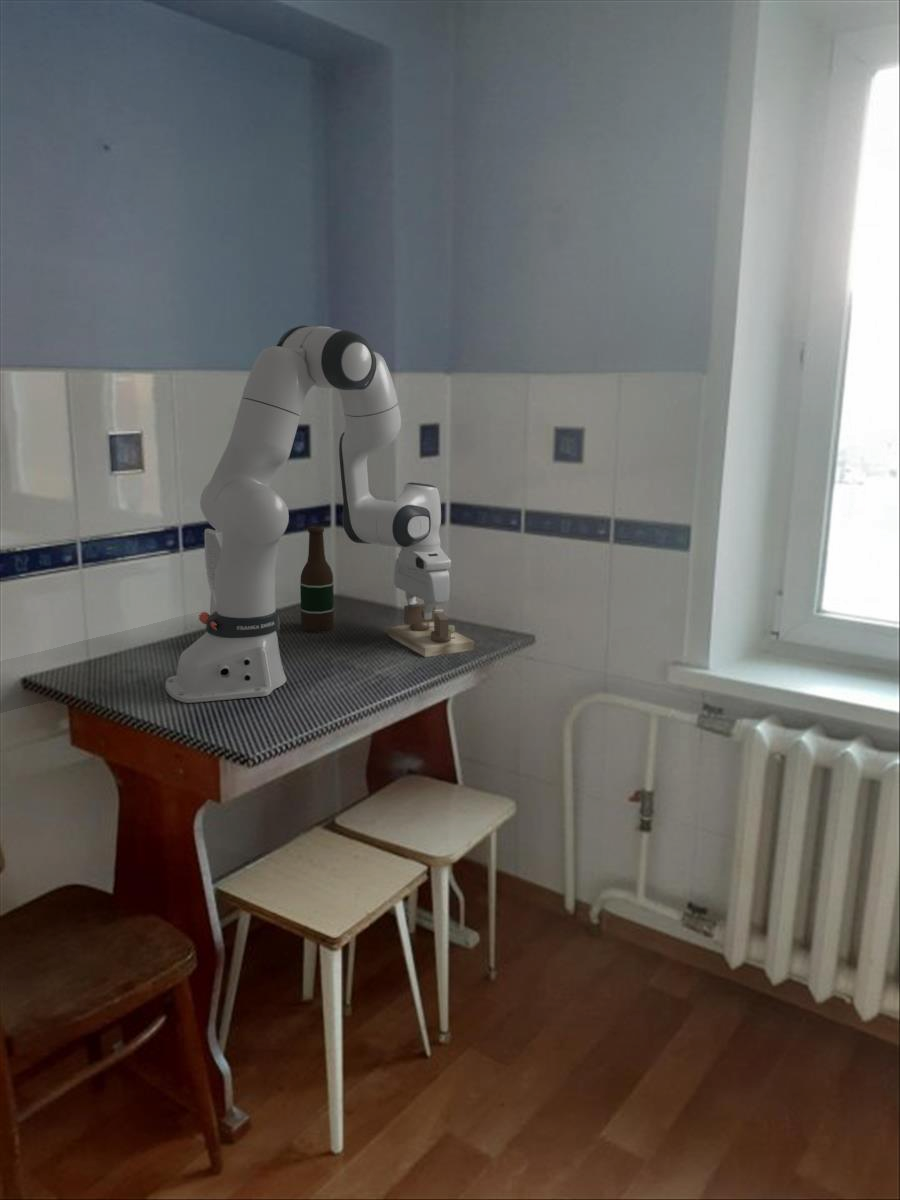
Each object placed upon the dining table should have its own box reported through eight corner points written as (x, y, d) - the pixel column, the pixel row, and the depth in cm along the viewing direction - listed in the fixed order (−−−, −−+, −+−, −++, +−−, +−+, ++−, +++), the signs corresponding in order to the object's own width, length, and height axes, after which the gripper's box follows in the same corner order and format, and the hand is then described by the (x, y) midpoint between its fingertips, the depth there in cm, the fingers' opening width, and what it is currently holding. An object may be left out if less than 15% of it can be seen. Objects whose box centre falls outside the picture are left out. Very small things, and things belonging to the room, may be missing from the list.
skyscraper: (251, 643, 206) (247, 517, 199) (239, 653, 198) (234, 523, 191) (214, 641, 206) (208, 516, 199) (201, 652, 198) (195, 522, 192)
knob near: (454, 643, 200) (454, 617, 198) (433, 644, 199) (434, 618, 197) (447, 634, 206) (448, 609, 205) (428, 635, 205) (428, 610, 204)
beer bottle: (338, 630, 215) (337, 528, 209) (305, 633, 212) (303, 530, 206) (329, 622, 222) (328, 523, 216) (297, 625, 219) (295, 524, 213)
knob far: (410, 632, 207) (410, 607, 206) (401, 627, 211) (401, 602, 210) (437, 628, 211) (438, 603, 209) (428, 624, 215) (429, 599, 213)
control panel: (425, 657, 197) (425, 640, 196) (388, 635, 212) (388, 620, 211) (474, 649, 203) (474, 634, 202) (434, 629, 218) (434, 614, 217)
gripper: (387, 548, 214) (387, 606, 217) (429, 565, 197) (428, 627, 200) (411, 546, 217) (411, 603, 220) (455, 562, 200) (453, 624, 203)
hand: (419, 615), depth 210 cm, fingers open, 5 cm apart
